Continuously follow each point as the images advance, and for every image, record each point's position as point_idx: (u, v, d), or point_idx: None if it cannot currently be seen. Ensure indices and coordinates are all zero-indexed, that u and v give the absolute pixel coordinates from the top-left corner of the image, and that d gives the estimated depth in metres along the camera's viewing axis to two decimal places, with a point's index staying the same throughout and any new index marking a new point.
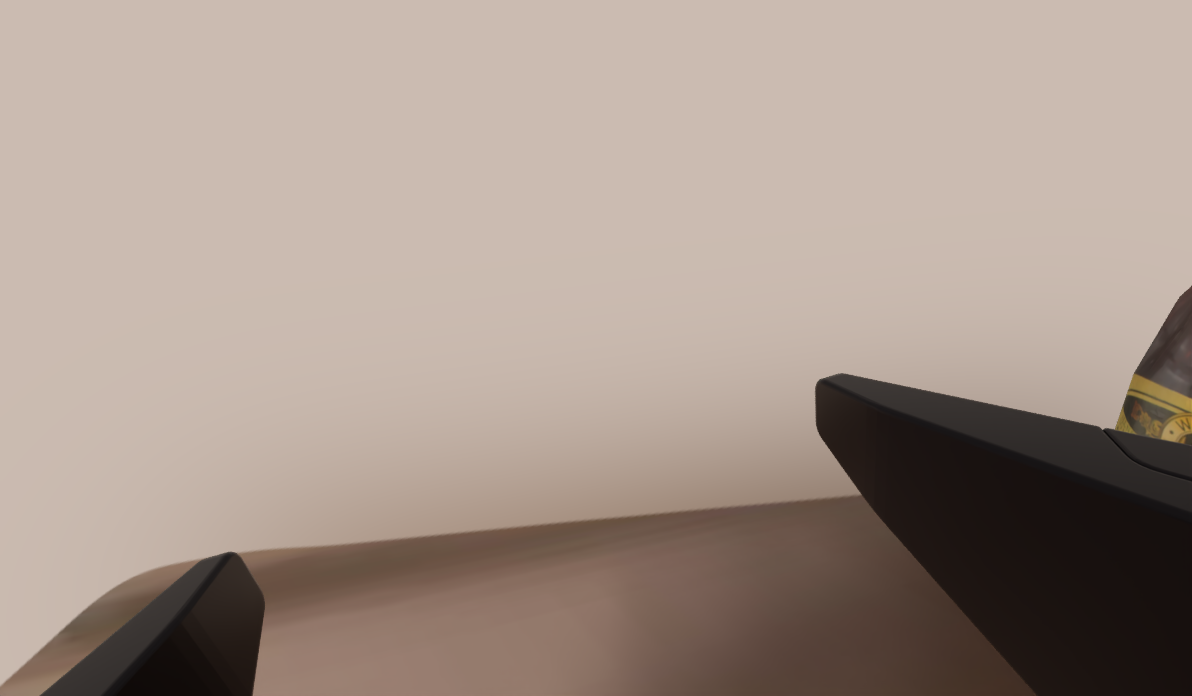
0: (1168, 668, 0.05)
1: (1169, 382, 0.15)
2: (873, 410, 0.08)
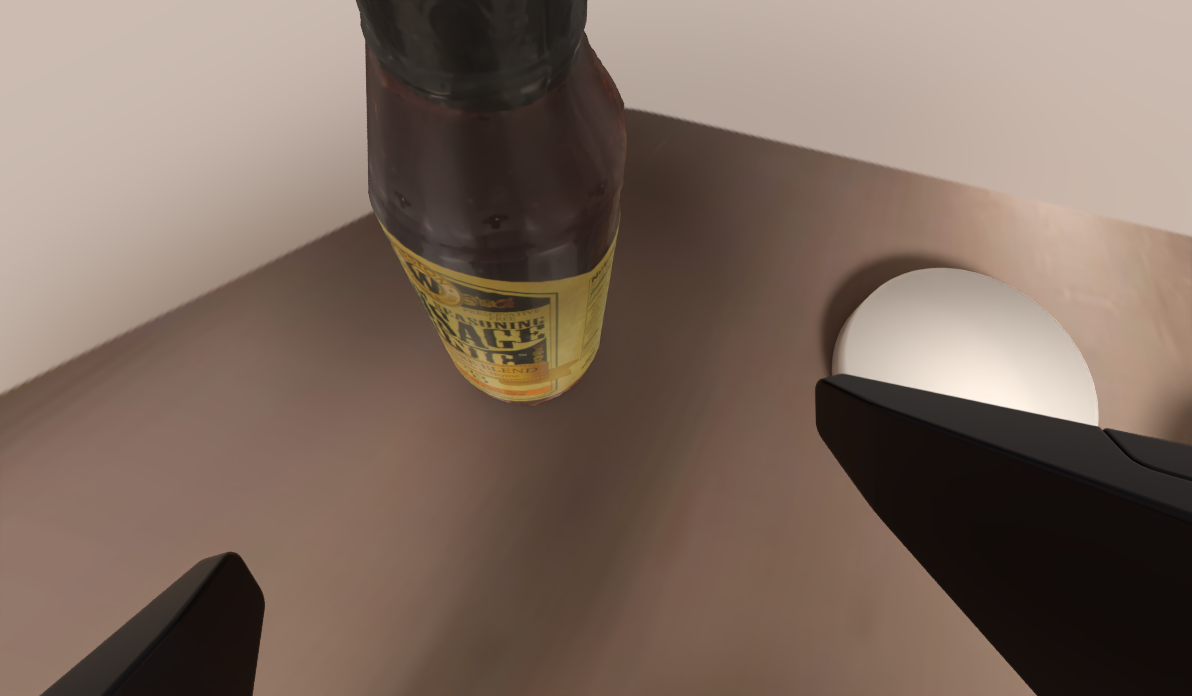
0: (1168, 668, 0.05)
1: (375, 209, 0.13)
2: (873, 410, 0.08)
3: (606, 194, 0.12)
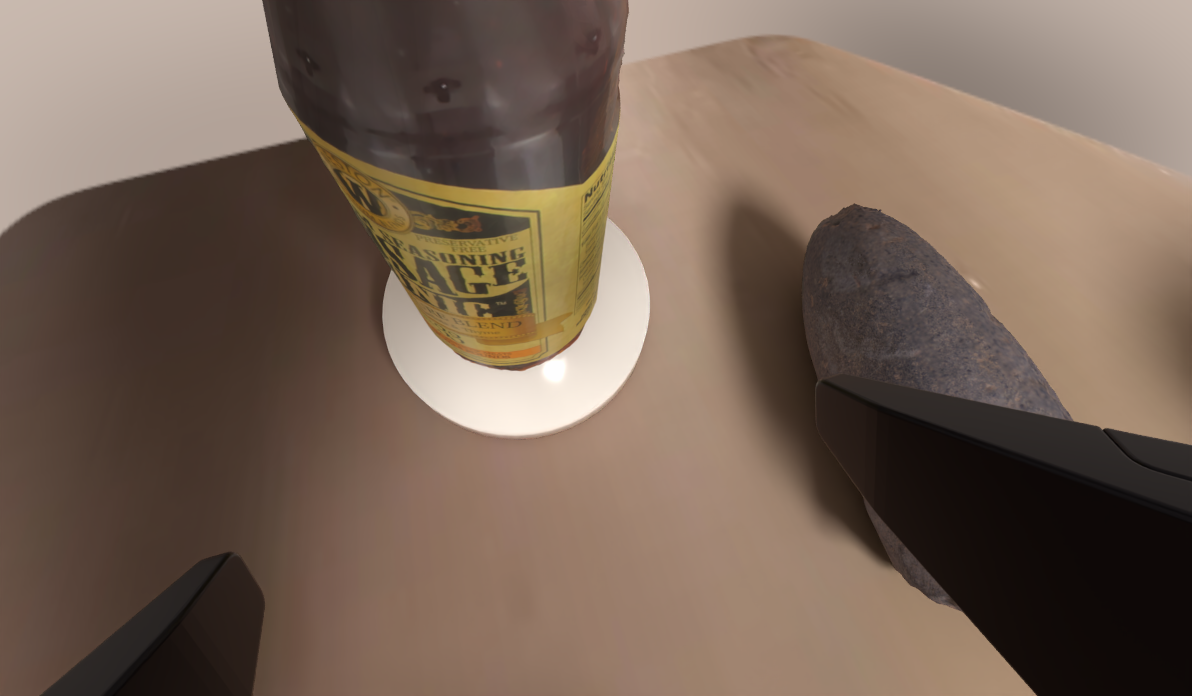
0: (1168, 668, 0.05)
1: (282, 90, 0.09)
2: (873, 410, 0.08)
3: (602, 56, 0.08)
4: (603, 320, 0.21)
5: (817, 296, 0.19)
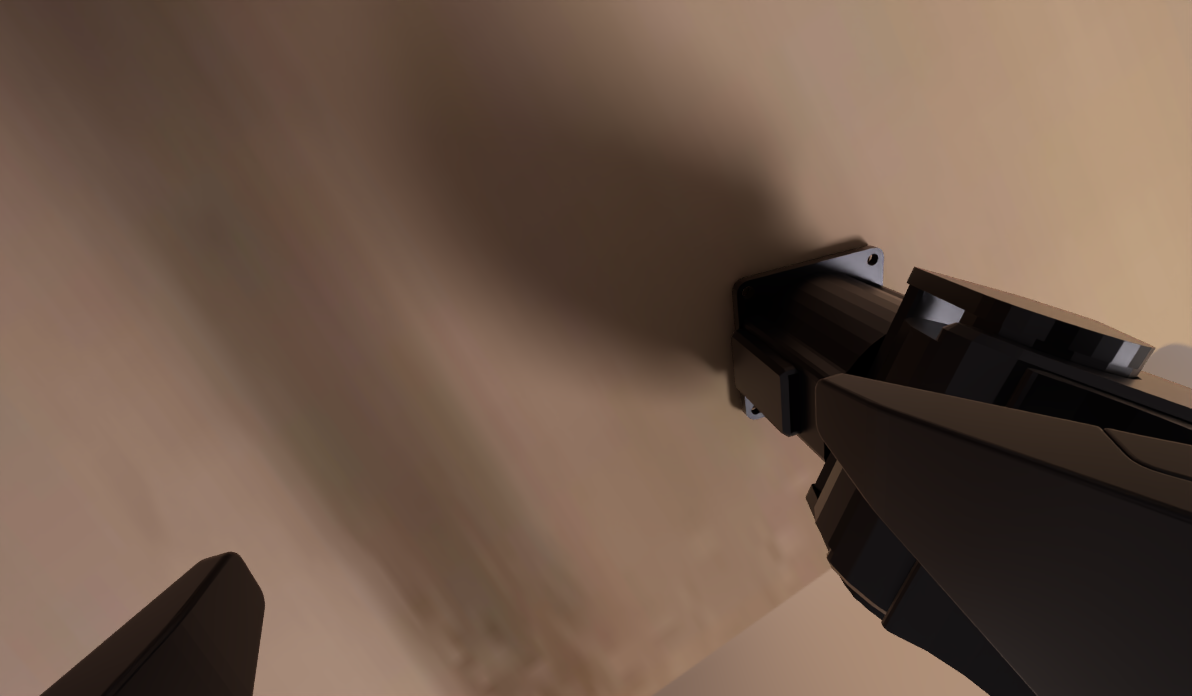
0: (1168, 668, 0.05)
1: None
2: (873, 410, 0.08)
3: None
4: None
5: None
